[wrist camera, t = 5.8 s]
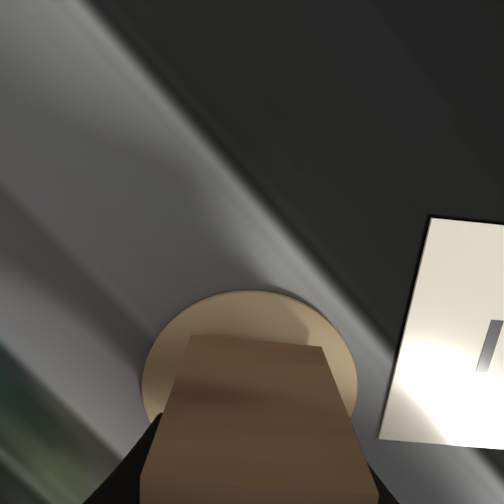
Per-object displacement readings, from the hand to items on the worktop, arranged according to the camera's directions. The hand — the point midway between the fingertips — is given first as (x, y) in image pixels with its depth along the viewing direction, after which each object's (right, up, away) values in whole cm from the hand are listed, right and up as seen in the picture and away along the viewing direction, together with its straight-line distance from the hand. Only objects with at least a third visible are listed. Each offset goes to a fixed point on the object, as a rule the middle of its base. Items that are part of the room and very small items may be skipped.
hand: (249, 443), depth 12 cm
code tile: (+11, +3, +2) cm, 12 cm away
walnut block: (0, +1, +2) cm, 2 cm away
